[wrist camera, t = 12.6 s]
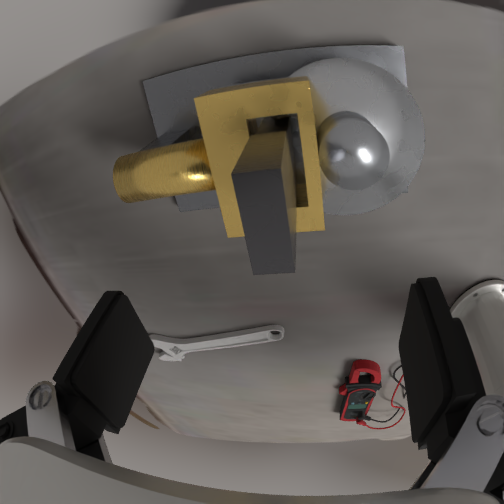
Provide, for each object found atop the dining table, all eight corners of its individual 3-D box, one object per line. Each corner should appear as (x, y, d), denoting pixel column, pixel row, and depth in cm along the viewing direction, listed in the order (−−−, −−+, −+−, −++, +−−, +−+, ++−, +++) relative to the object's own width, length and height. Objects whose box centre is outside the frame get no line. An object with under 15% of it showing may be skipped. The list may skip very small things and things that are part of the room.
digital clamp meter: (330, 433, 60) (346, 378, 46) (330, 416, 64) (345, 355, 49) (427, 426, 57) (472, 367, 42) (425, 409, 60) (466, 347, 46)
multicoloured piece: (398, 46, 22) (449, 48, 14) (403, 186, 31) (440, 246, 22) (148, 79, 28) (86, 100, 19) (184, 205, 36) (146, 266, 27)
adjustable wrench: (281, 319, 46) (281, 328, 45) (291, 345, 49) (290, 354, 48) (141, 333, 53) (138, 341, 51) (159, 355, 56) (156, 362, 55)
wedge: (288, 111, 22) (280, 168, 12) (297, 175, 25) (295, 272, 15) (261, 114, 22) (230, 173, 13) (272, 177, 25) (253, 274, 15)
